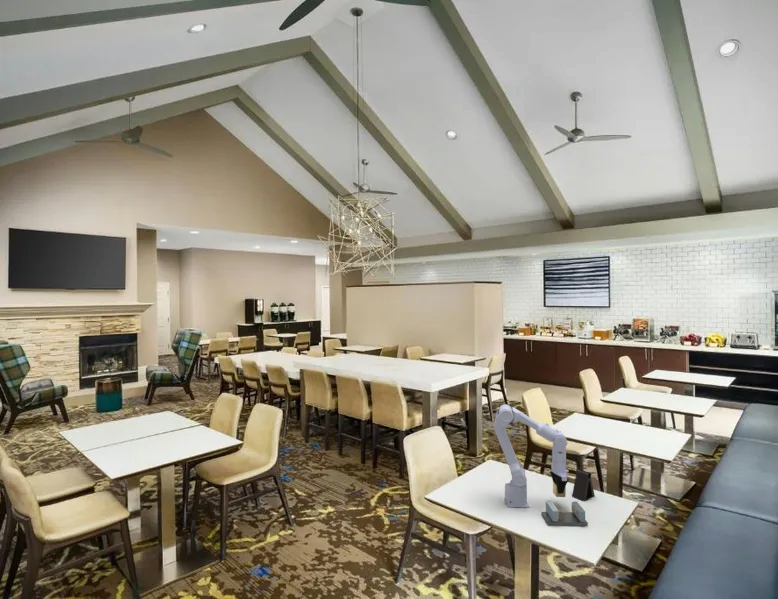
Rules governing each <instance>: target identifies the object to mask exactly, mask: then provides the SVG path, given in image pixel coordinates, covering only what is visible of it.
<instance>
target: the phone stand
mask: <svg viewBox="0 0 778 599" xmlns="http://www.w3.org/2000/svg"><path fill="white" fill-rule="evenodd" d="M573 484H574V485H573V490H572V492H571V493H572V494H571V496H572V498H575V499H577V500H580V501H582V502H587V501H589V500H590V499H593V498H594V497H595V496H596V495H595V490H594V487H593V482H592V473H591V472H589V471H586V470H582V469H580V468H577V469H576V470H575V479H574V483H573Z"/></svg>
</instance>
